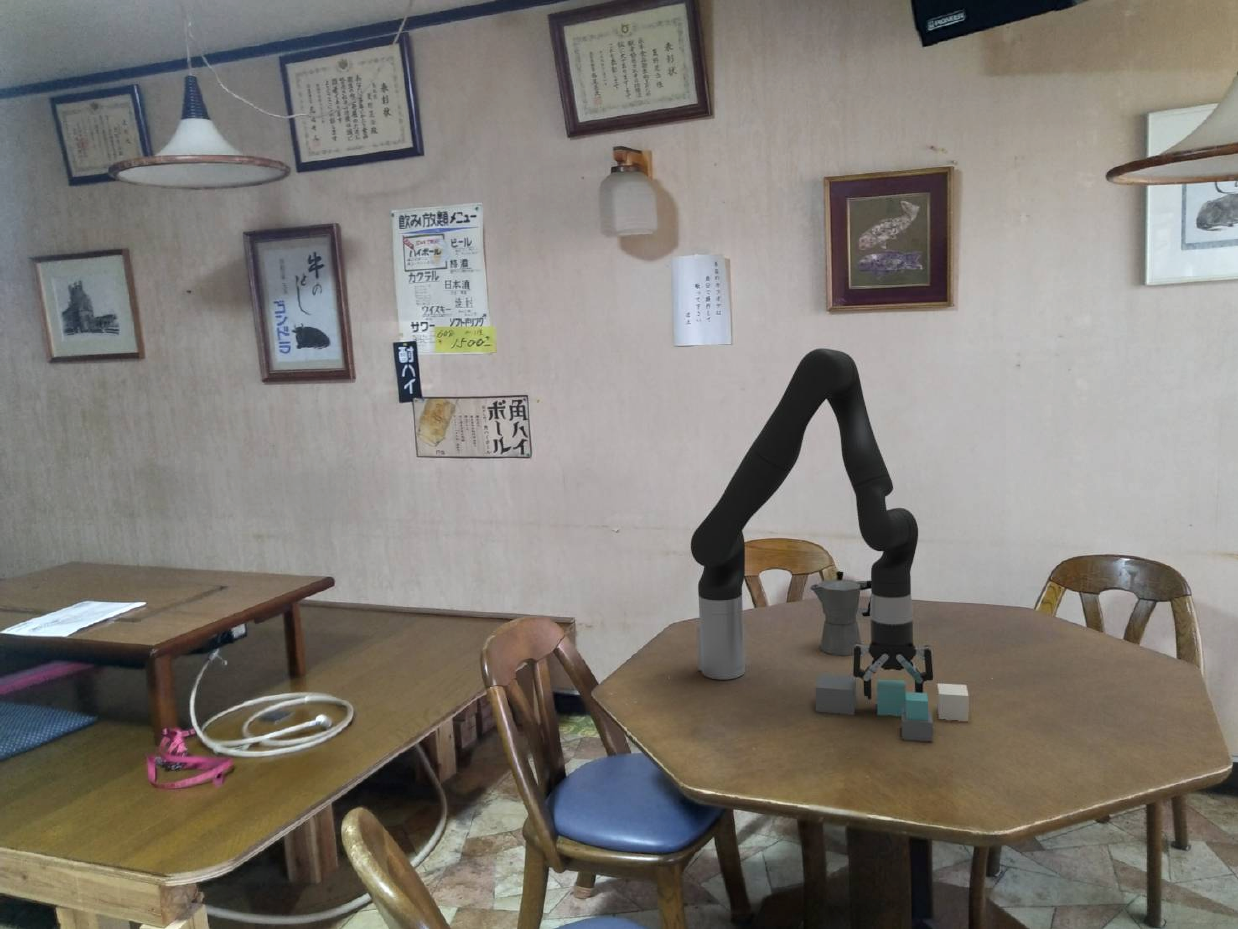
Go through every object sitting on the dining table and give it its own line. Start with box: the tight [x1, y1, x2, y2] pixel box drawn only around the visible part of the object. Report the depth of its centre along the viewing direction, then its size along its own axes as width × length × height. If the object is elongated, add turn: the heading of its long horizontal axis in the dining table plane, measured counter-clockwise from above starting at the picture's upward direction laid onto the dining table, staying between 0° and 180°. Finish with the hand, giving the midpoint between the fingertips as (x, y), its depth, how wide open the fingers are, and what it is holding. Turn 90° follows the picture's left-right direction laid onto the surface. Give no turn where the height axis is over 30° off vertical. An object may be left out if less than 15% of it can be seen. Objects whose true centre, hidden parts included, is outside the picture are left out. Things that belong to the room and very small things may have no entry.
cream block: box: [937, 683, 970, 722], centre depth 163 cm, size 5×5×5 cm
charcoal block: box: [814, 673, 857, 716], centre depth 169 cm, size 7×7×5 cm
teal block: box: [876, 679, 907, 717], centre depth 166 cm, size 5×5×5 cm
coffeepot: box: [809, 571, 871, 657], centre depth 198 cm, size 15×9×18 cm, turn 87°
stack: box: [901, 691, 934, 742], centre depth 155 cm, size 5×5×7 cm
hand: (893, 699), depth 166 cm, fingers open, 8 cm apart
